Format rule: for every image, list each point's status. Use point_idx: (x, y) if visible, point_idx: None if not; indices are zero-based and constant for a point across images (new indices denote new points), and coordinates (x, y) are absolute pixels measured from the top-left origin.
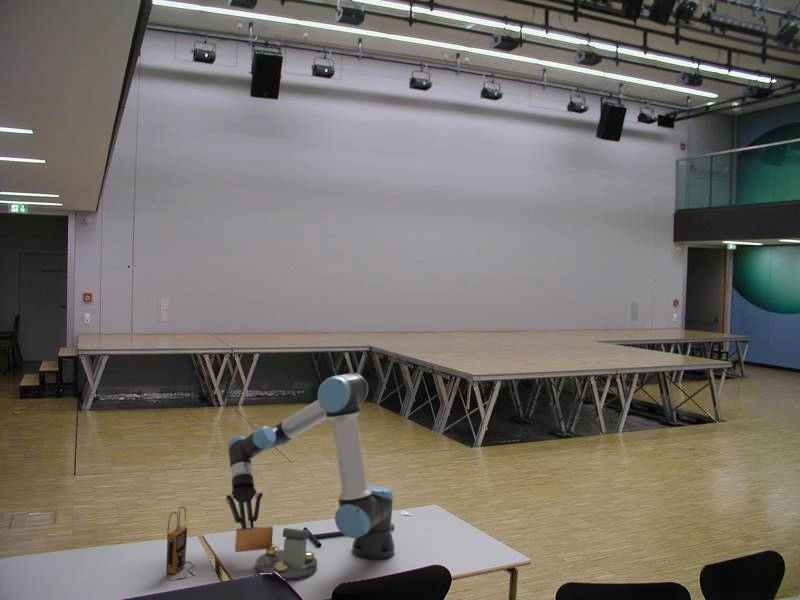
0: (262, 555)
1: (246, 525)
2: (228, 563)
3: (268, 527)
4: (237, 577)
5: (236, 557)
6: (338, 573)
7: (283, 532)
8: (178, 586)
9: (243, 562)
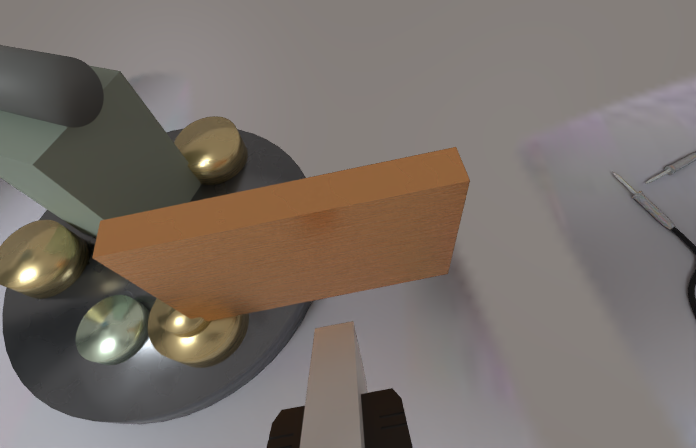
0: (268, 336)
1: (355, 410)
2: (476, 332)
3: (140, 216)
4: None
5: (435, 430)
6: (5, 196)
7: (82, 62)
8: (658, 104)
9: (386, 340)
